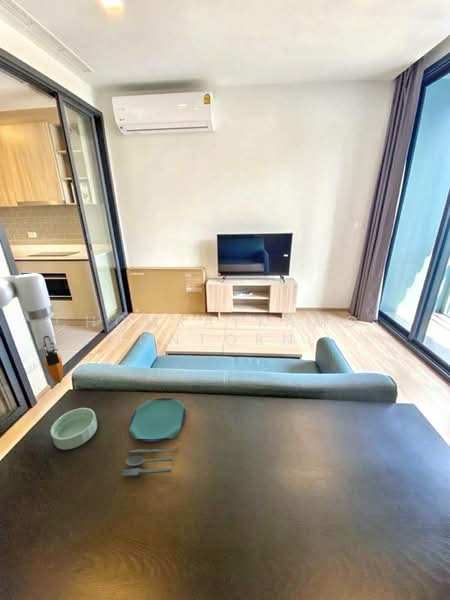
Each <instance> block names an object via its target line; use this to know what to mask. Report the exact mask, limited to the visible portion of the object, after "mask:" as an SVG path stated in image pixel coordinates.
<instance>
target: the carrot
mask: <svg viewBox="0 0 450 600" xmlns="http://www.w3.org/2000/svg"><path fill="white" fill-rule="evenodd" d="M54 348H55V351H56V352H57V351H58V350H59V349H58V348H56V345H55V346H54ZM46 350H47V349H46ZM57 355H58V358H59V363H57V364H54V365H51V366H48V363H47V360H46V357H45V358H44V365H45V368H46V371H47V373H48V374H49V376H50V378H51V380H53V381H54V382H56V383H57V384H61V383H62V381H63V378H64V377H63V376H64V365H63V361H62V356H61V355H60V354H59V353H57Z"/></svg>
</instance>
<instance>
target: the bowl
mask: <svg viewBox="0 0 450 600" xmlns="http://www.w3.org/2000/svg"><path fill="white" fill-rule="evenodd" d="M97 429H98V420H97V417H96V413H95V411H94V410H93V409H91V408H88V407H79V408H75V409H71V410H69V411H67V412H65V413H64V414H62V415H61V416H60V417H59V418H57V419H56V420H55V421H54V422H53V424H52V425H51V427H50V430H49V431H50V436H51V439H52V442H53V445H54V446H55V447H56V448H57V449H59V450H62V451H63V450H71V449H75V448H78V447H80V446H82V445H83V444H85V443H86V442H88V441H90V439H91V438H92V437H93V436H94V435H95V433H96V432H97Z"/></svg>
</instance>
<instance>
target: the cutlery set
mask: <svg viewBox="0 0 450 600" xmlns="http://www.w3.org/2000/svg"><path fill="white" fill-rule="evenodd" d="M186 418H187V411H186V409H185V404H183V403H182V402H181V401H180V400H179V399H174V398H168V397H161V398H155V399H149V400H147V401H145V402H144V403H142V404H141V405H139V406H138V407H137V409H136V410H135V411H134V413H133V415H132V416H131V417H130V421H129V429H128V432H129V434H130V435H131V436H132V437H133V439H134V440H139V441H141V442H144V443H157V442H161V441H164V440H166V439H170V440H171V439H172V440H174V439H175V438H176V437H177V436H179V434H180V432H181V429H182V428H183V425H184V424H185V422H186ZM163 452H165V453H166V452H174V453H176V448H175V449H160V448H155V449H154V447H153V448H152V449H146V448H145V449H143V448H142V449H131V450H129V451H128V453H129V454H139V453H152V454H154V453H156V454H158V453H163ZM173 461H174V456H170V457H169V456H168V457H159V458H158V457H157V458H150V459H146V458H144V457H143V456H142V455H132V456H130V457H128V458H126V460H125V462H124V463H125V464H126V465H128V466H131V467H134V468H130V469H122V472H121V476H130V477H131V476H133V477H137V476H139V475H142V474H162V473H172V468H159V469H157V468H156V469H143V468H140V467H137V466H141V465H142V464H143V463H148V462H173ZM135 467H136V468H135Z"/></svg>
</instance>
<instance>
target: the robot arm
mask: <svg viewBox="0 0 450 600" xmlns="http://www.w3.org/2000/svg"><path fill="white" fill-rule="evenodd" d="M15 298H18V301H19V304H20V307H21V310H22V313H23V316H24V319H25V321H27V322H30V327H31V330H32V333H33V337H34V339H35V343H36V346H37V349H38V350H40V351H42V350H43V353H44V355H45V358H46V360H47V363H48V366H51V365H54V364H57V363H59V358H58V355H57V354H58V352H57V351H55V349H56V345H57V341H56V336H55V331H54V327H53V323H52V319H51V317H52V316H54V315H55V313H54V310H53V306H52V303H51V299H50V295H49V291H48V288H47V284H46V280H45V278H44V276H43V275H42V274H40V273H23V274H21V275H20V274H19V275H0V309H2V308H4V307H7V306H8V305H9V304H10V302H11V301H12V300H13V299H15ZM54 346H55V348H54ZM46 349H47V350H46Z"/></svg>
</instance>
